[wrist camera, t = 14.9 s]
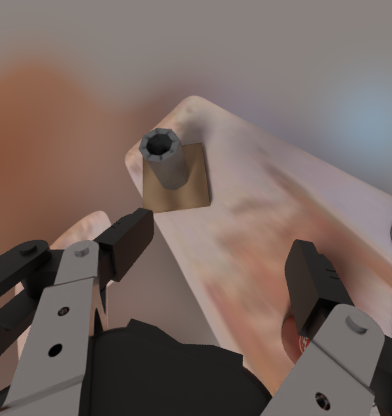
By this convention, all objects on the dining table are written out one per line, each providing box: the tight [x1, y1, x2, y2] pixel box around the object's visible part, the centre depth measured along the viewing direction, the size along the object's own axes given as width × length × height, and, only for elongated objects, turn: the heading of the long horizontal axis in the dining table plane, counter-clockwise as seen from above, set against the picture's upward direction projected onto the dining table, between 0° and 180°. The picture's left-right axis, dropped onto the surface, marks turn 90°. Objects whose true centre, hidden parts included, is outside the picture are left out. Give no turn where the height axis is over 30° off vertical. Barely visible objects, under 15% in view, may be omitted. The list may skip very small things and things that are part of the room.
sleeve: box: [139, 128, 189, 190], centre depth 33 cm, size 6×6×10 cm
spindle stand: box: [143, 143, 210, 213], centre depth 36 cm, size 13×14×7 cm
